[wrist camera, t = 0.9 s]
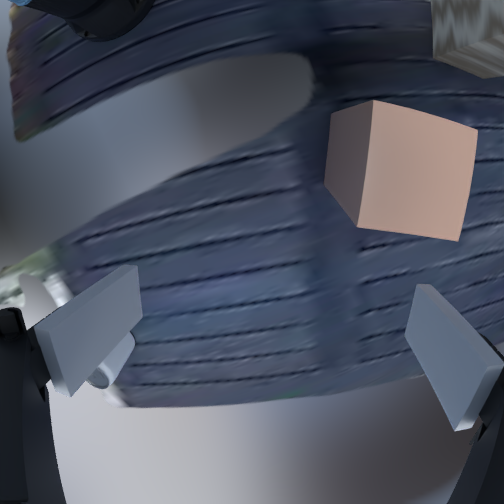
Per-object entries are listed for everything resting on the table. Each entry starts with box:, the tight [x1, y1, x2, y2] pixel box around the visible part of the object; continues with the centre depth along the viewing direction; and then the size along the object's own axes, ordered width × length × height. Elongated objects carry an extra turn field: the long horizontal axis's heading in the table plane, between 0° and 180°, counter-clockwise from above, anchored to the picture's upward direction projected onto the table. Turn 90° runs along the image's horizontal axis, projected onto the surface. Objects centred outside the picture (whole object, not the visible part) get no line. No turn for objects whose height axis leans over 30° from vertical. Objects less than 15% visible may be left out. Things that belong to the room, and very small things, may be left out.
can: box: [86, 331, 135, 389], centre depth 49 cm, size 6×6×12 cm
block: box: [324, 100, 478, 241], centre depth 30 cm, size 10×10×20 cm
